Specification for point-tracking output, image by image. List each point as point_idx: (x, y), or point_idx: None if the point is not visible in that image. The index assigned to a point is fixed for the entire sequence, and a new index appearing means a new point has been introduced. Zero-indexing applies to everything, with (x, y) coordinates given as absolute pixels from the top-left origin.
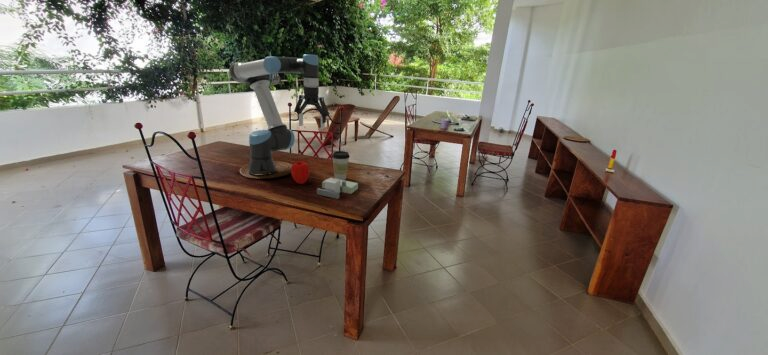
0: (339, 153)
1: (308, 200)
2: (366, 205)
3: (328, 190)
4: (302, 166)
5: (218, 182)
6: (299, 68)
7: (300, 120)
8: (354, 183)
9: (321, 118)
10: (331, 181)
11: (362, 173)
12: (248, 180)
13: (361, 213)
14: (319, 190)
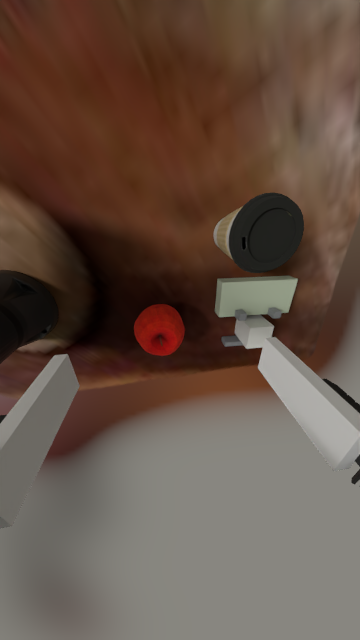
0: (262, 234)
1: (220, 364)
2: (314, 332)
3: None
4: (177, 347)
5: None
6: None
7: (56, 426)
8: (290, 285)
9: (329, 451)
10: (259, 342)
11: (278, 137)
12: None
13: (309, 356)
14: (229, 345)
